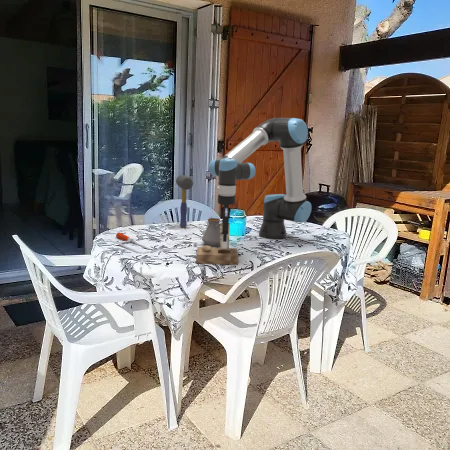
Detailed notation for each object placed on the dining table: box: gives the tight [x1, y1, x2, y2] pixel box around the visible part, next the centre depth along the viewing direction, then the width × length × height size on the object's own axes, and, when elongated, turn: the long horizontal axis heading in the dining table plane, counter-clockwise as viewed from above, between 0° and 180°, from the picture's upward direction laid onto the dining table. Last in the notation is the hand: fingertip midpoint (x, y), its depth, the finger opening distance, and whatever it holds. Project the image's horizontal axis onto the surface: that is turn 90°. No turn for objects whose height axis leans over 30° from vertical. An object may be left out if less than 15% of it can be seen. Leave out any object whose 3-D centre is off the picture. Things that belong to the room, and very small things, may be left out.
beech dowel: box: [219, 222, 231, 248], centre depth 203 cm, size 4×4×11 cm
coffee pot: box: [201, 217, 222, 247], centre depth 226 cm, size 21×12×15 cm, turn 22°
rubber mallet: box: [175, 174, 194, 229], centre depth 261 cm, size 12×8×30 cm, turn 21°
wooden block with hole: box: [195, 244, 239, 266], centre depth 205 cm, size 18×12×6 cm, turn 91°
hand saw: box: [115, 232, 157, 254], centre depth 223 cm, size 33×3×10 cm
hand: (224, 246), depth 204 cm, fingers closed on beech dowel, 4 cm apart
